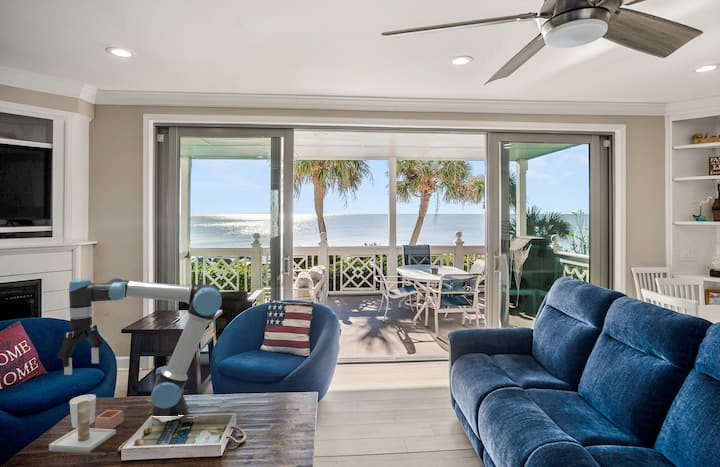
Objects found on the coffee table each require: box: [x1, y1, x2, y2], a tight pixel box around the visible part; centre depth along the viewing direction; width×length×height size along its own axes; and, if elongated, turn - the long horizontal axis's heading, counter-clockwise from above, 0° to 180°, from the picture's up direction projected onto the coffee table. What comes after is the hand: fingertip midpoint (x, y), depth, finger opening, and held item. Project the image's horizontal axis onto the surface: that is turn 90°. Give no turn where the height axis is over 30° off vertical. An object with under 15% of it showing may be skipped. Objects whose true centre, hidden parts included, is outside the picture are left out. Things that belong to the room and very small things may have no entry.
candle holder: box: [69, 394, 97, 429], centre depth 180 cm, size 10×10×12 cm
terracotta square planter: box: [94, 409, 125, 429], centre depth 178 cm, size 8×8×6 cm
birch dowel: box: [77, 401, 91, 442], centre depth 165 cm, size 4×4×15 cm
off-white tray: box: [48, 427, 117, 454], centre depth 165 cm, size 18×14×2 cm
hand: (82, 368), depth 165 cm, fingers open, 13 cm apart
